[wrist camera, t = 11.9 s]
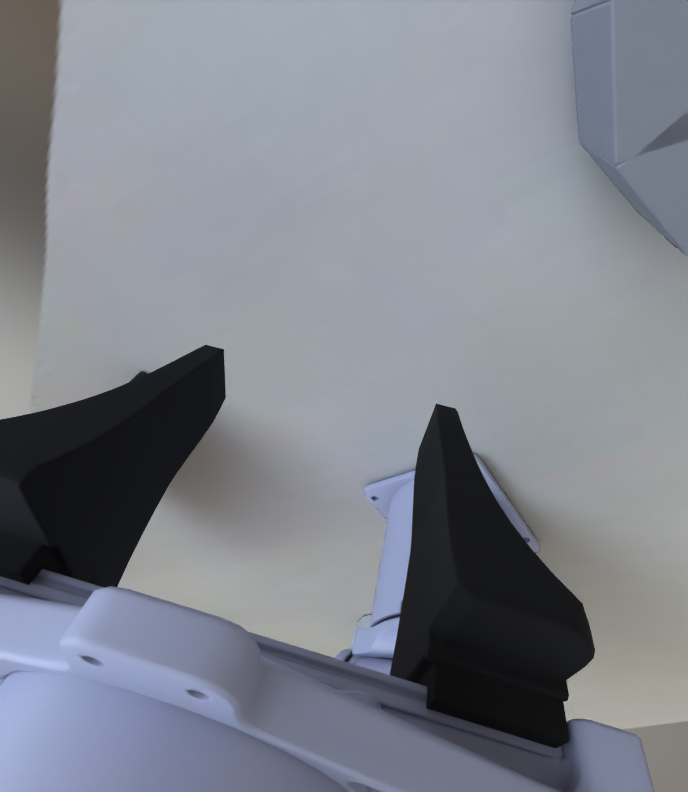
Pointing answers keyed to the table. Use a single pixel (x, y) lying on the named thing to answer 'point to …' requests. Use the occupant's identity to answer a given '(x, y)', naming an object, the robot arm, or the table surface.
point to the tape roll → (636, 103)
